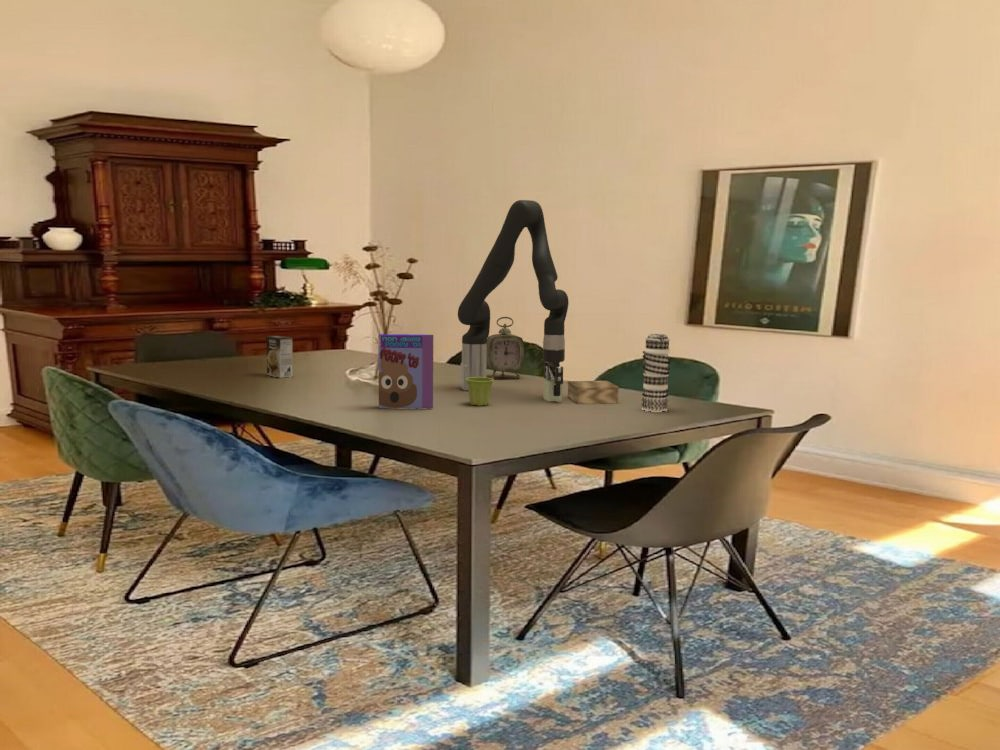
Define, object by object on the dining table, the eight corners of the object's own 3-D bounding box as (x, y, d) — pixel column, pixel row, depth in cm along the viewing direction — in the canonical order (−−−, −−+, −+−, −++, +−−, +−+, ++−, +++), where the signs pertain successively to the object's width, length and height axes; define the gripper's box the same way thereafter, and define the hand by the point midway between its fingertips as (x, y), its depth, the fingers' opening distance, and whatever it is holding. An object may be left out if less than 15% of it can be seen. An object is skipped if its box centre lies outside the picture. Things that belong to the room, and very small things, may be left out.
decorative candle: (636, 407, 286) (639, 333, 282) (662, 407, 288) (665, 333, 284) (646, 412, 277) (649, 336, 274) (673, 412, 279) (676, 335, 276)
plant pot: (486, 401, 293) (486, 376, 292) (498, 405, 285) (498, 380, 284) (461, 403, 289) (461, 377, 288) (472, 407, 281) (472, 381, 280)
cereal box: (378, 409, 276) (378, 335, 273) (379, 406, 281) (379, 333, 278) (432, 409, 277) (433, 335, 274) (433, 406, 282) (433, 334, 279)
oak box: (577, 405, 291) (578, 387, 290) (567, 397, 305) (567, 381, 304) (618, 404, 294) (619, 387, 293) (605, 397, 308) (606, 380, 307)
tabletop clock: (488, 380, 341) (489, 317, 337) (484, 377, 349) (484, 315, 346) (524, 379, 344) (525, 317, 340) (518, 376, 353) (519, 315, 349)
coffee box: (266, 376, 342) (265, 336, 339) (279, 374, 347) (279, 335, 344) (280, 378, 336) (279, 337, 334) (293, 377, 341) (292, 336, 338)
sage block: (547, 401, 295) (548, 381, 294) (543, 399, 300) (543, 379, 299) (561, 401, 296) (562, 381, 295) (557, 398, 301) (557, 379, 300)
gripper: (537, 345, 301) (536, 391, 303) (549, 350, 287) (548, 397, 289) (557, 345, 303) (557, 390, 305) (570, 349, 289) (569, 397, 291)
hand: (553, 394), depth 297 cm, fingers open, 8 cm apart
